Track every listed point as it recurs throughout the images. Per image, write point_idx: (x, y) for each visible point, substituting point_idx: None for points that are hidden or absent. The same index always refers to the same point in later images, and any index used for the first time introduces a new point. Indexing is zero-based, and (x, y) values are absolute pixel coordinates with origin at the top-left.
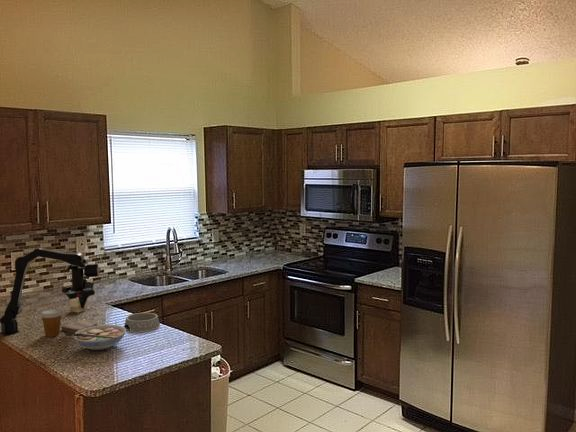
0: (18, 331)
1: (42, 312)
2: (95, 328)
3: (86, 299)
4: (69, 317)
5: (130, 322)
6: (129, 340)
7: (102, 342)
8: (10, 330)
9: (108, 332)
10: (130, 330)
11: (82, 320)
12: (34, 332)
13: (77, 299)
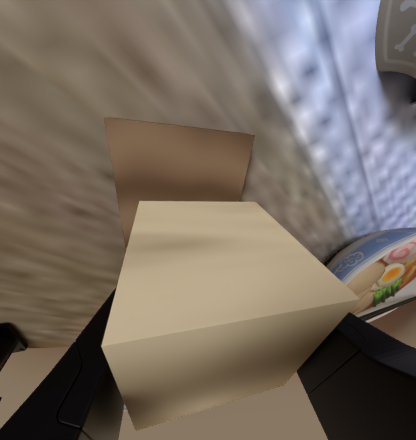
0: (8, 326)
1: (126, 410)
2: (353, 267)
3: (369, 329)
4: None
5: None
6: (409, 191)
7: (392, 298)
8: (8, 354)
9: (400, 265)
10: (412, 103)
11: (113, 120)
12: (64, 296)
13: (243, 383)
